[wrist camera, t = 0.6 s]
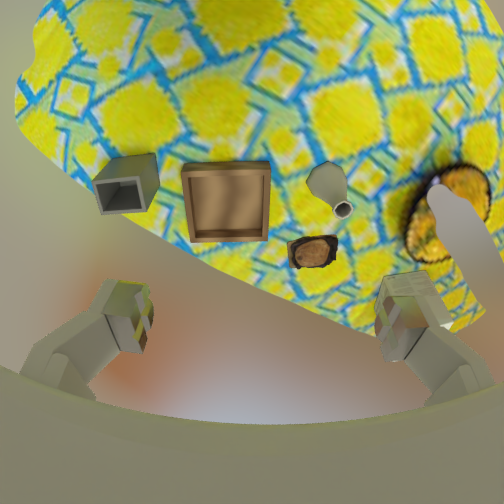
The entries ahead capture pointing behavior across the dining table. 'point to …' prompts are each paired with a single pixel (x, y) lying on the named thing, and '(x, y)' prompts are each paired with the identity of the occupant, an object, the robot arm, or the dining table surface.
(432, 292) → the supplement box
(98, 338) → the robot arm
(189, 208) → the tray
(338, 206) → the flask
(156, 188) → the small crate
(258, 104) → the dining table surface
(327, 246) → the bread roll
